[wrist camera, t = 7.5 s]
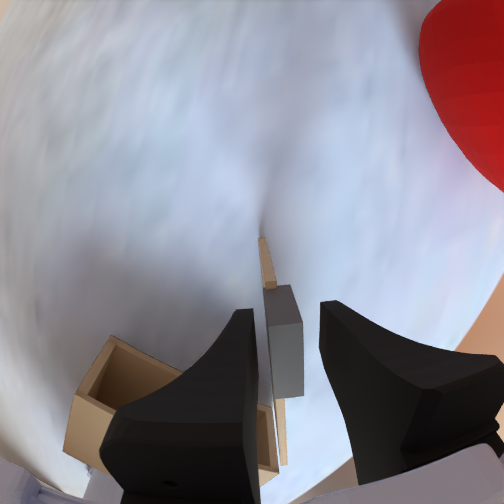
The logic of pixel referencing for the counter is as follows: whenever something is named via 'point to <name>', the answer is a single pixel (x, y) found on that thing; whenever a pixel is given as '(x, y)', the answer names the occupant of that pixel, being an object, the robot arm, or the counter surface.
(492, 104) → the tomato
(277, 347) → the carton flap
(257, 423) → the carton
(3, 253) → the counter surface
